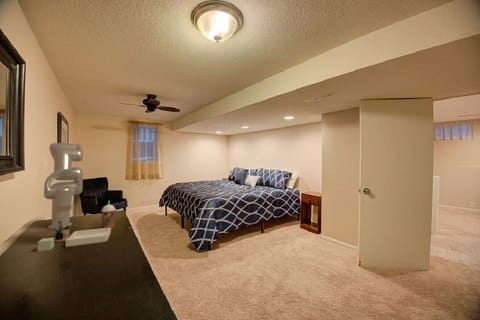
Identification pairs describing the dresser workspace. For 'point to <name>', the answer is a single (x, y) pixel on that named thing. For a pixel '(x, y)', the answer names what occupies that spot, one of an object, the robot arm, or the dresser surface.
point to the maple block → (65, 235)
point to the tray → (88, 236)
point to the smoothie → (108, 216)
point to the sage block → (46, 244)
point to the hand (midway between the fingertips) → (62, 236)
